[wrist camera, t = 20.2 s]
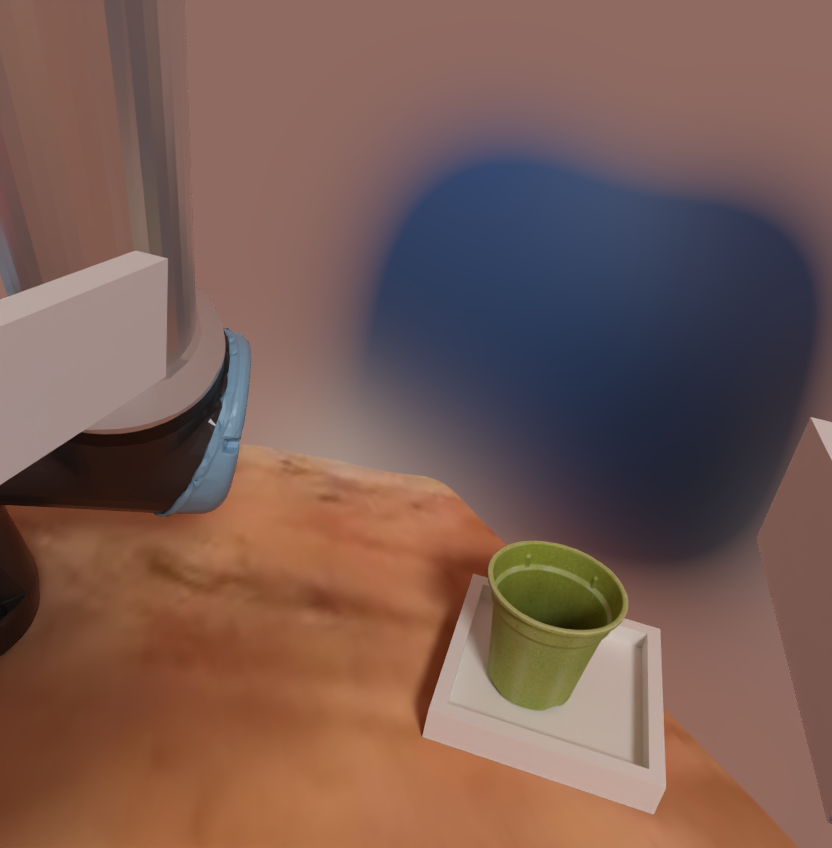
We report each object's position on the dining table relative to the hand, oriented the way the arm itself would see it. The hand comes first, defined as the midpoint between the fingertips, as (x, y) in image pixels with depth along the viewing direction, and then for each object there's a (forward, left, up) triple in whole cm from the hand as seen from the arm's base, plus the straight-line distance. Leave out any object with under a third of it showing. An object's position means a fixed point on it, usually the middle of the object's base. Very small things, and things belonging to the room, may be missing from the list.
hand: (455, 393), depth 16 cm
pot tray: (-16, +26, -34) cm, 45 cm away
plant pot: (-16, +24, -33) cm, 44 cm away
